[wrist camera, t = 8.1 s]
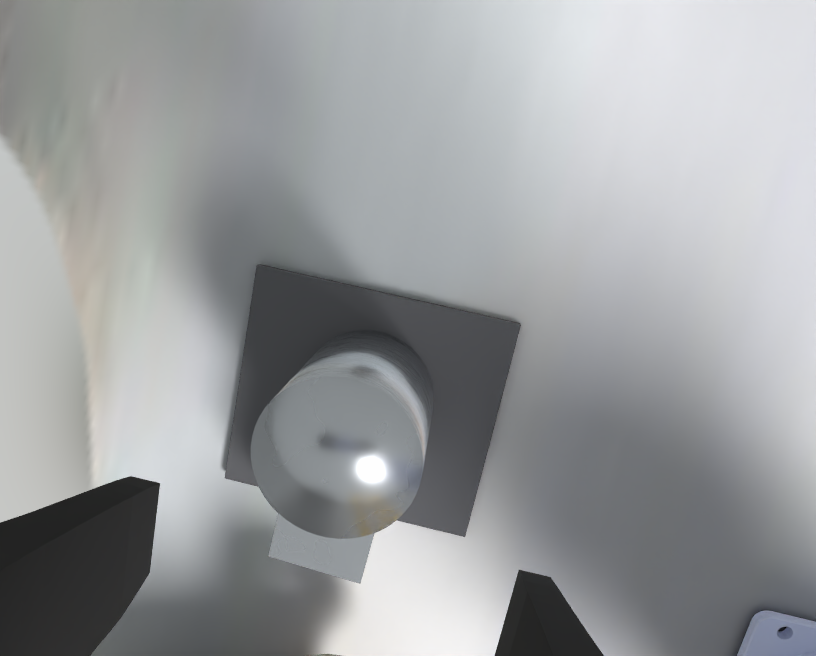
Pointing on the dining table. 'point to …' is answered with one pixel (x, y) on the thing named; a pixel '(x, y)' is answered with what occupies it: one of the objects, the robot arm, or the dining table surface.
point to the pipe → (323, 655)
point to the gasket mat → (421, 330)
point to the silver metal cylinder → (343, 450)
